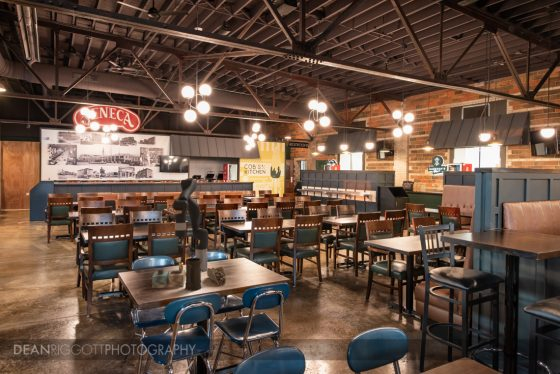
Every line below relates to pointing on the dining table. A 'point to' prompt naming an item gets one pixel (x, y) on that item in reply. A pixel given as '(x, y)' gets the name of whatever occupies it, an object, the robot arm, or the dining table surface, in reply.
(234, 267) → the dining table surface
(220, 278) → the burrito
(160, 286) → the clear plastic box
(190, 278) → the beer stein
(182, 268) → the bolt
